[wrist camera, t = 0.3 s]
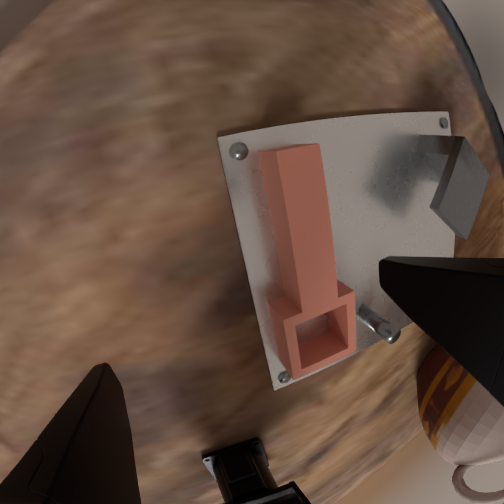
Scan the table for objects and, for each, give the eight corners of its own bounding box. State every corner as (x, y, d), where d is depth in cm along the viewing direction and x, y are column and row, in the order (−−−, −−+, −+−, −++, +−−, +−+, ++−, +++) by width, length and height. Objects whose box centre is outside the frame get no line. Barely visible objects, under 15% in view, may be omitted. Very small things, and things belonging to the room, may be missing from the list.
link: (337, 334, 28) (356, 350, 25) (278, 359, 26) (293, 380, 24) (315, 140, 22) (338, 140, 19) (236, 156, 20) (251, 156, 17)
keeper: (426, 226, 28) (466, 240, 24) (393, 198, 26) (438, 209, 21) (449, 168, 27) (489, 174, 23) (420, 134, 25) (464, 136, 20)
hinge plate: (447, 298, 33) (450, 299, 33) (273, 388, 28) (275, 391, 27) (446, 111, 25) (449, 111, 25) (216, 137, 20) (218, 137, 19)
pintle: (370, 316, 28) (400, 339, 24) (357, 322, 28) (387, 346, 24) (369, 303, 28) (401, 325, 24) (357, 309, 28) (388, 332, 24)
